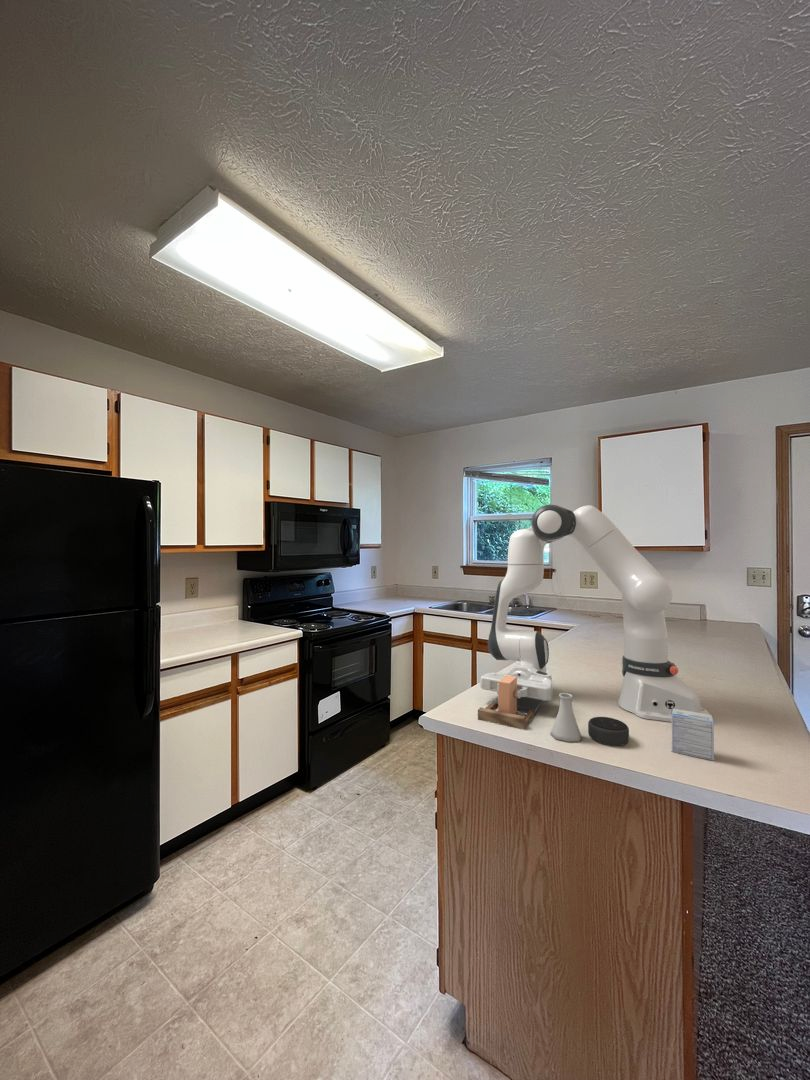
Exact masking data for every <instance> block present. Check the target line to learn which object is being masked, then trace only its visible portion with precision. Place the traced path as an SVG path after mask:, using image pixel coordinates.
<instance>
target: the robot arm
mask: <svg viewBox="0 0 810 1080" xmlns="http://www.w3.org/2000/svg"><path fill="white" fill-rule="evenodd" d="M530 523H531V526H529V527H528V528H520V529H517V530H515V531H514V532H512V533H511V535H510V536H509V541H508V547H507V548H508V549H507V570H506V573H505V576H504V578H503V579H501V580H500V581H498V582H499V583H498V585H497V587H496V593H495V598H494V603H493V611H492V619H491V624H490V625H491V627H490V631H489V635H488V640H487V651H488V652H489V654H490V655H491V656H492V657H493V658H494V659H495V660H496V661H516V662H517V661H518V664H516V665H515V666H513V667H512V668H511V669H509V671H508V672H507V673H506V674H505V673H502V672H501V673H500V672H487V673H485V674H483V675H481V676H480V684H479V685H480V689H482V690H485V691H490V692H496V693H497V695H498V681H500V680H501V679H502V678H504V677H505V676H506V675H509V676H515V677H517V690H515V691H514V698H520V697H528V698H533V699H539V700H543V702H544V701H547V702H549V701H552V699H553V678H552V674H550V673H547V664H548V662H549V657H550V651H549V650H550V649H549V643H548V639H546V637H545V636H544V635H543V634H542V633H541V632H540V631H536V630H525V629H524V630H520V629H509V628H507V619H508V613H509V606H510V603H511V601H512V600H513V599H515V598H516V597H519V596H522V595H524V594H527V593H529V592H532V591H534V590H536V589H537V588H538V587H539V586H540V585H541V584H542V582H543V580H544V574H545V573H544V571H545V566H544V564H545V563H544V550H545V546H546V545H547V544H551V543H554V542H556V541H557V542H558V541H560V540H562V539H563V538H564V537H567V536H568V537H572V538H574V539H575V540H576V541H577V542H578V543H579V545H580V546H581V547H582V548H583V549H584V550H585V551H586V553H587V554H588V555H589V557H590V558H591V559H592V560H593V561H594V563H595V564H596V565H597V566H598V567H599V569H600V570H601V571H602V572H603V573H604V574H605V576H606V577H607V578H608V579H609V580H610V581H611V583H612V584H613V585H614V586H615V587H616V588H617V590H618V591H619V592H620V593H621V602H622V603H621V604H622V605H621V607H622V620H623V656H622V659H621V674H622V683H621V684H622V685H621V691H620V694H619V697H618V700H617V704H618V706H619V707H621V709H623V710H625V711H628V712H631V714H635V715H637V716H638V717H639V718H642V719H646V720H654V721H663V722H669V723H670V722H671V714H672V709H679V710H685V711H691V712H697V713H702V714H708V715H711V714H710V712H709V711H708V710H707V709H706V708H703V707H702V706H701V700H700V697H699V695H698V693H697V691H695V689H694V688H693V687H691V686H690V685H689V684H688V683H686V682H685V681H683V679H681V678H680V677H678V676H677V674H678V673H679V668H678V667H677V665H676V664H675V663H674V662H671V661H670V660H668V655H669V654H668V653H669V652H668V651H669V649H668V648H669V647H668V637H669V636H668V634H669V633H668V630H667V624H666V623H667V621H666V616H665V615H666V614H665V609H667V608H668V607H669V606H670V604H671V602H672V599H673V590H672V588H671V585H670V584H669V582H668V581H667V580H666V579H665V578H664V577H663V576H662V574H661V573H659V571H658V570H657V568H655V567H654V566H653V565H652V564H651V563H650V562H649V561H648V559H646V558H645V557H644V556H643V555H642V554H641V553H640V552H639V551H638V550H637V549H636V547H634V545H633V544H632V543H631V542H630V541H629V540H628V539H627V537H626V536H625V535H624V534H623V532H622V531H620V529H619V528H618V527H617V525H615V524H614V523H613V522H612V520H611V519H610V518H609V517H607V515H605V514H604V512H602V511H601V510H599V509H598V508H597V507H595V506H594V505H583V506H581V507H578V508H577V509H575V510H574V511H573V510H570V509H567V508H564V507H562V506H559V505H557V504H545V505H542V506H540V507H539V508H537V509H536V510H535V511H534V513H533V514H532V516H531V522H530Z"/></svg>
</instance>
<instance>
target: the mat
mask: <svg viewBox="0 0 810 1080" xmlns="http://www.w3.org/2000/svg"><path fill="white" fill-rule="evenodd" d="M543 702H544V700H539V699H533V698H528V697H520V698H517V706H521V707H526V708H531V709H536V711H537V710H538V708H539V707H540V706H541V704H543Z"/></svg>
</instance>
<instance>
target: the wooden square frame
mask: <svg viewBox="0 0 810 1080" xmlns="http://www.w3.org/2000/svg"><path fill="white" fill-rule="evenodd" d="M495 707H496V708H497V707H498V701H494V700H493V701H491V702H490V703H489V704H488V705H487V706H485V708H484V707H479V708H478V709H477V720H479V719H480V721H484V720H485V721H484V722H488V721H489V722H488V723H493V722H494V724H497V723H498V725H502V726H506V725H507V727H510V728H516V729H521V730H525V728H526V727H527V725H528V724H529V723H530V722H531V720H532V719H533V718H534V717H535V715H536V714H537V710H536V709H531V708H526V707H521V706H517V713H522V714H525V716H524V715H519V714H516V715H515V714H510V713H505V712H500V711H498V710H495V709H496V708H495ZM494 708H495V709H494Z"/></svg>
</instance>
